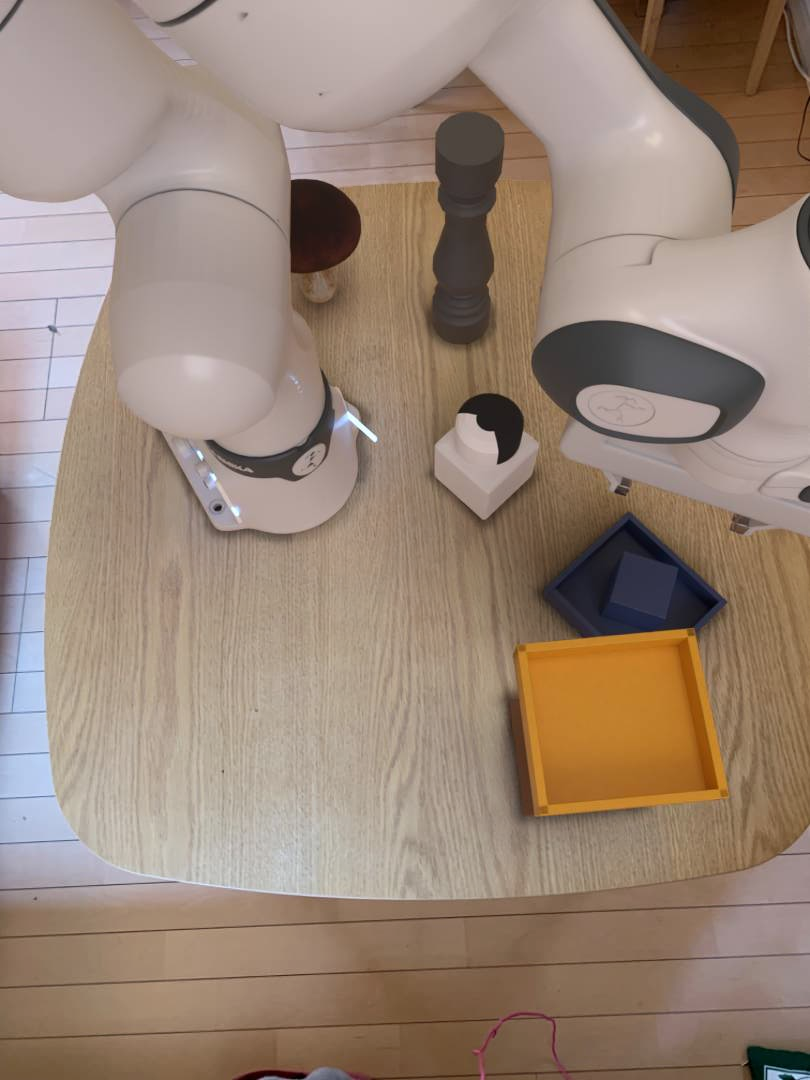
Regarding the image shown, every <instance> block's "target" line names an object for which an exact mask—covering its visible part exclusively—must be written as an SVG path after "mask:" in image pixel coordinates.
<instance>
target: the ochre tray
mask: <svg viewBox="0 0 810 1080" xmlns="http://www.w3.org/2000/svg"><path fill="white" fill-rule="evenodd" d="M697 640H698V639H697V635H696V634H695V630H694V628H688V629H677V630H667V631H656V632H645V633H634V634H623V635H613V636H602V637H591V638H584V637H582V638H581V637H580V638H571V639H561V640H550V641H549V640H547V641H537V642H528V643H517V644H516V646H515V649H514V652H513V654H512V657H513V664H514V671H515V678H516V686H517V687H516V688H517V693H518V699H510V700H509V701H508V709H509V715H510V716H509V717H510V723H511V731H512V738H513V740H512V741H513V748H514V755H515V762H516V770H517V777H518V785H519V794H520V801H521V809H522V816H523V817H531V816H534V818H539V817H549V816H550V817H551V816H559V815H571V814H583V813H593V812H604V811H615V810H624V809H636V808H646V807H647V808H648V807H656V806H657V807H658V806H659V807H660V806H668V805H679V804H690V803H700V802H701V803H702V802H712V801H713V802H714V801H719V800H725V799H730V793H729V787H728V783H727V777H726V774H725V768H724V764H723V759H722V755H721V750H720V744H719V740H718V735H717V730H716V726H715V721H714V716H713V712H712V707H711V703H710V697H709V693H708V692H709V691H708V687H707V683H706V677H705V673H704V669H703V663H702V659H701V655H700V649H699V645H698V641H697Z"/></svg>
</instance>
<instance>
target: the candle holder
mask: <svg viewBox="0 0 810 1080" xmlns="http://www.w3.org/2000/svg"><path fill="white" fill-rule="evenodd" d="M434 142H435V143H434V174H435V175H436V177H437V180H438V181H439V186H438V187H437V203H438V205H439V206H440V208H441V211H442V212H443V213H444V225H443V227H442V230H441V233H440V236H439V239H438V242H437V243H436V247H435V250H434V252H433V255H432V273H433V275H434V277H435V280H436V281H437V282H436V285H435V286H434V293H433V295H432V296H431V297H432V301H431V304H432V305H431V325H432V328H433V329H434V332H435V334H436V335H437V336H438V337H439V338H440V339H442V340H443V341H445V342H448V343H450V344H453V345H468V344H471V343H473V342H477V341H478V340H480V338H481V337H483V336H484V335H485V334H486V332H487V329H488V328H489V324H490V314H491V295H490V288H489V286H488V284H489V282H490V280H491V278H492V276H493V274H494V272H495V253H494V251H493V247H492V244H491V239H490V235H489V231H488V227H487V222H488V214H489V213H490V212H492V209H493V208H494V205H495V204H496V202H497V187H496V184H497V183H498V181H499V179H500V177H501V175H502V172H503V161H504V152H505V131H504V129H503V128H502V126H501V124H500V123H499V122H498V121H497V120H496V119H495V118H493V117H492V116H490V115H489V114H488V115H487V114H485V113H482V112H479V111H461V112H459V113H456V114H452V115H449V117H448V118H446V119H444V120H443V121H442V122H440V124H439V126H438V127H437V130H436V131H435V137H434Z"/></svg>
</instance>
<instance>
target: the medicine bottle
mask: <svg viewBox="0 0 810 1080" xmlns="http://www.w3.org/2000/svg"><path fill="white" fill-rule="evenodd" d="M524 428H525V420H524V415H523V412H522V411H521V409H520V407H519V406H518V404H516V402H515V401H513V400H512V398H509V397H508V396H505V395H502V394H500V393H495V392H484V393H483V392H482V393H478V394H475V395H474V396H472V397H469V398H467V400H465V401H464V402H463V403H462V404H461V406H460V407H459V409H458V411H457V414H456V417H455V425H454V426H453V427H452V428H450V429H449V431H447V432H446V433H445V434H444V435H443V436H441V438H440V439H438V440H437V441H436V442H435V444H434V467H433V468H434V470H433V471H434V477H435V478H436V479H437V480H438V481H439V482H440V483H441V484H443V485H444V486H445V487H446V488H447V490H449V491H450V492H451V493H452V494H453V495H454V496H456V497H457V498H458V499H459V500H460V501H461V502H462V503H463V504H465V505H466V506H467V507H468V509H470V510H471V511H472V512H474V513H475V515H476V516H478V517H479V518H480V519H481V520H484V521H486V520H487V519H488V518H490V516H491V515H492V514H493V513H494V512H495V511H497V509H499V508H500V507H501V506H502V505H503V504H504V503H505V502H506V501H507V500H508V499H510V497H511V496H512V495H514V493H515V492H516V491H518V490H519V489H520V487H522V486H523V485H524V484H525V483H526V482H527V481H528V480H529V479H530V478H531V477H532V476H533V472H534V469H535V464H536V462H537V457H538V453H539V450H540V442H539V441H537V440H536V439H535V438H534V437H533V436H531V435H530V434H529V433H528V432H527V431H526V430H525V429H524Z"/></svg>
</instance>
